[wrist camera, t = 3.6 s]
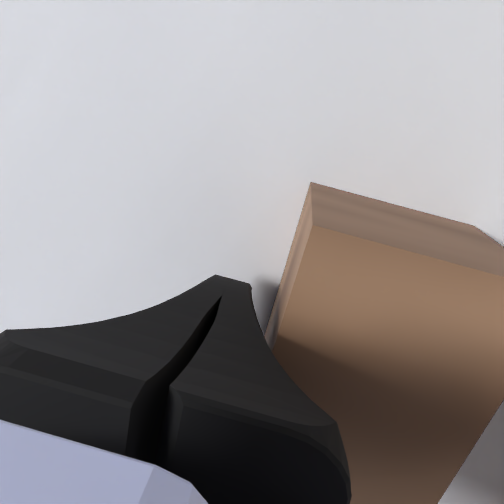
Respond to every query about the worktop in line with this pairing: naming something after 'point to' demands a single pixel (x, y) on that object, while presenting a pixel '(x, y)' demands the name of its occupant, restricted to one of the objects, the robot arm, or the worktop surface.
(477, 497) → the worktop surface
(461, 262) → the walnut block
